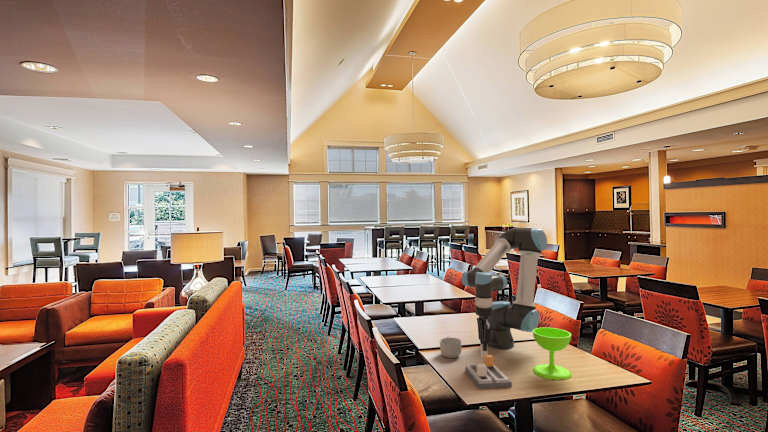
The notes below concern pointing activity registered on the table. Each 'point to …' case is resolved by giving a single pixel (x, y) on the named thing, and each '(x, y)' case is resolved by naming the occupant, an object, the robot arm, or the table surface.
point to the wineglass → (551, 351)
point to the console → (488, 377)
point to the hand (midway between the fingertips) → (484, 356)
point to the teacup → (450, 347)
